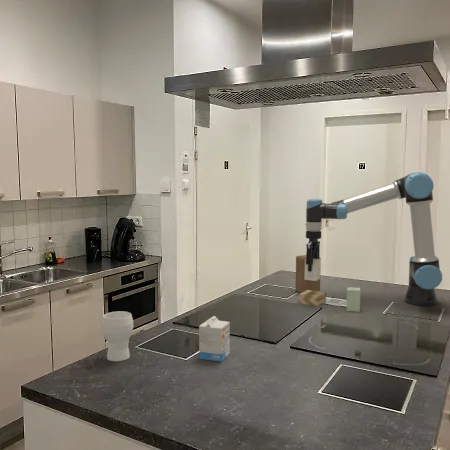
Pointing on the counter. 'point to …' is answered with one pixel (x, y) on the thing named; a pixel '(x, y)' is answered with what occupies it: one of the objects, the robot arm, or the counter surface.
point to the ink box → (214, 340)
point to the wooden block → (300, 275)
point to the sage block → (353, 299)
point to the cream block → (315, 270)
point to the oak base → (312, 297)
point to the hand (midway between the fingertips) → (312, 276)
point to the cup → (117, 334)
